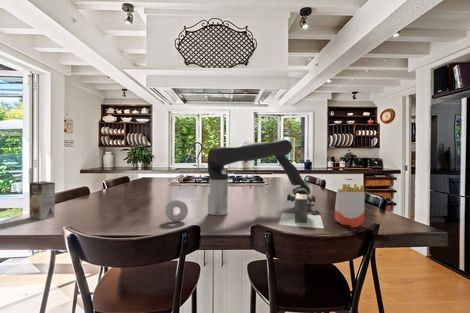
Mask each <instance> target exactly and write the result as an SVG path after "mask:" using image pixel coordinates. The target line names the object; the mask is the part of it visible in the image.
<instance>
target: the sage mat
mask: <svg viewBox="0 0 470 313" xmlns="http://www.w3.org/2000/svg"><path fill="white" fill-rule="evenodd" d="M278 226H288V227H300V228H312V229H313V228H315V229H324V228H325V227H324V224H323V220H322V217H321V215H317V214H307V223H297V222H295V213H289V212H282V213H281V215H280V219H279V222H278Z"/></svg>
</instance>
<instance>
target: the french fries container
mask: <svg viewBox="0 0 470 313" xmlns="http://www.w3.org/2000/svg"><path fill="white" fill-rule="evenodd" d="M365 196H366V193H365V185H361V184H360V186H357V184H355V183H354V184H353V187H351V184H350V183H349V184H348V183H347V184H346V183H342V188H337V191H336V197H335V203H334V204H335V206H334V219H335V220H336V222H338V223H339V224H341V225H343V226H344V225H345V226H346V225H348V226H349V225H350V228H358V227H359V226H360V225H362V224H363V223H364V222H365V200H366V197H365Z"/></svg>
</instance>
